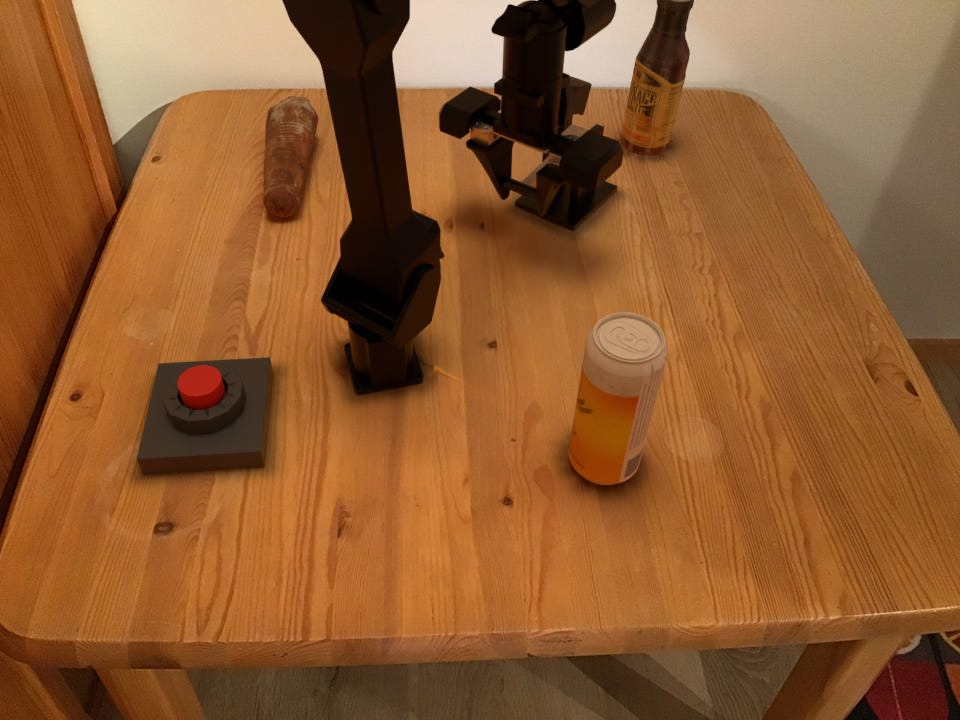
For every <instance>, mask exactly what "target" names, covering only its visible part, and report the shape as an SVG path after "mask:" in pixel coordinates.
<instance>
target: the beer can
mask: <svg viewBox="0 0 960 720" xmlns="http://www.w3.org/2000/svg"><path fill="white" fill-rule="evenodd" d="M667 345H668V344H667V342H666V337H665V333H664V330H662V328H661V326H659V324H657V323H656V322H655V321H654V320H652V319H651V318H649V317H647V316H644V315H642V314H639V313H636V312H628V311H620V312H619V311H618V312H613V313H609V314H607V315H605V316H603V317H601V318H600V319H598V321H596V323H595V324H594V327H593V328H592V329H591V330H590V331H589V333H588V334H587V336H586V339H585V345H584V353H583V357H582V358H583V359H582V364H581V371H580V377H579V383H578V390H577V395H576V402H575V408H574V415H573V419H572V427H571V433H570V440H569V445H568V459H569V462H570V464H571V466H572V468H573V469H574V470H575V471H576V472H577V473H578V474H579V475H580V476H581V477H583V478H584V479H585V480H587V481H589V482H591V483H593V484H596V485H601V486H613V485H617V484H621V483H624V482H626V481H627V480H629V479H632V477H633V476H634V475H635V474H636V472H637V471H638V469H639V467H640V464H641V459H642V456H643V452H644V448H645V444H646V441H647V436H648V434H649V430H650V429H649V428H650V426H651V422H652V417H653V414H654V411H655V406H656V402H657V398H658V393H659V390H660V386H661V383H662V379H663V375H664V371H665V368H666V363H667V360H668V356H669V350H668V346H667Z"/></svg>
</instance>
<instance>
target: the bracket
mask: <svg viewBox="0 0 960 720" xmlns="http://www.w3.org/2000/svg"><path fill="white" fill-rule="evenodd" d="M573 118H574V115H571V123H570V124H568V125H567V126H566V127H565V128H564V127H561V126H560V127H559V128H558V133H559V134H561V133H562V132H563V131H564V130H566V129H567V128H568V127H569V126H570V125H571V124H573ZM589 130H590V131H592V132H595V133H598V134H601V135H603V136H604V130H605V126H603V125H600V124H599V123H596V124H595V125H593V126H592V127H591V128H590V129H589ZM548 156H549V153H547V154H545V153H542V158H541V159H542V160H541V163H542V162H543V161H544V160H545V159H546V158H547V157H548ZM535 188H537V186H536V187H535ZM616 192H618V185H616V184H614V183H611V182H608V181H607V180H606V181H605V182H604V183H603V184H601V185H600V186H599V187H598V188H597V189H596V190H585V189H583V188H580V187H578V186H575V185H573V184H570V183H568V182H566V183H565V184H563V185H561V186H560V188H559V190H558V192H557V194H556V196H555V198H554V199H553V201H552V203H551V205H550V207H549V209H548V211H547V212H546V213H545V214H544V215H543V216H540V215H539V214H538V209H537V201H535V200H533V199H530V198H528V197H525V196H523V195H521V196H519V197H518V198H517V199H516V200H515V201H514V207H515V208H518V209H520V210H523V211H525V212H527V213H530V214H532V215H534V216H537V217H539V218H541V219H544V220H546V221H549V222H551V223H553V224H555V225H558V226H560V227H562V228H565V229H567V230H570V231H572V232H575V231H576V230H577V229H578V228H579V227H580V226H581V225H583V224H584V223H585V222H586V221H587V220H588V219H589V218H590V217H591V216H592V215H593V214H594V213H595V212H596V211H597V210H598V209H600V208H601V207H602V205H604V204H605V203H606V202H607V201H608V200H609V199H610V198H611V197H612V196H613V195H614V194H615V193H616Z"/></svg>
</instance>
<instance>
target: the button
mask: <svg viewBox="0 0 960 720" xmlns="http://www.w3.org/2000/svg"><path fill="white" fill-rule="evenodd" d="M177 386H178V389H179V392H180V395H181V398H182V401H183V403H184V404H185V405H186V406H187V407H189V408H192V409H197V410H201V409H207V408H210V407H213V406H215V405H216V404H218V403H219V402H220V401H221V400H222V398H223V397H224V394H225V387H224V384H223V380H222V377H221V374H220V372H219V371H218V370H217V369H216V368H214V367H212V366H208V365H199V366H195V367H192V368H190V369H188V370H186V371H185V372H184V373H182V374H181V376H180V377H179V379H178V383H177Z"/></svg>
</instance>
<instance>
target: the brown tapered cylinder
mask: <svg viewBox="0 0 960 720" xmlns="http://www.w3.org/2000/svg"><path fill="white" fill-rule="evenodd" d="M265 121H266V122H265V128H264V129H265V133H264V134H265V135H264V137H265V138H264V152H263V156H264V157H263V197H262V201H263V206H264V208H265V209H266V210H267V212H268V213H271V214H272V215H274V216H276V217H279V218H288V217H290V216H291V217H292V216H294V215H295V214H296V213H297V212H298V211H299V209H300V206H301V200H302V194H303V190H304V187H305V184H306V178H307V174H308V168H309V165H310V161H311V154H312V149H313V146H314V143H315V138H316V133H317V131H318V130H317V129H318V124H319V115H318V113H317V111H316V110H315V108H314V107H313V106H312V103H311V101H310V100H309V99H308V97H306V96H296V95H294V96H291V95H290V96H288V97H286V98H285V99H283V100H281V101H280V102H279V103H278V104H275V105H273V106H271V107H269V109H268V111H267V117H266V120H265Z"/></svg>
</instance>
